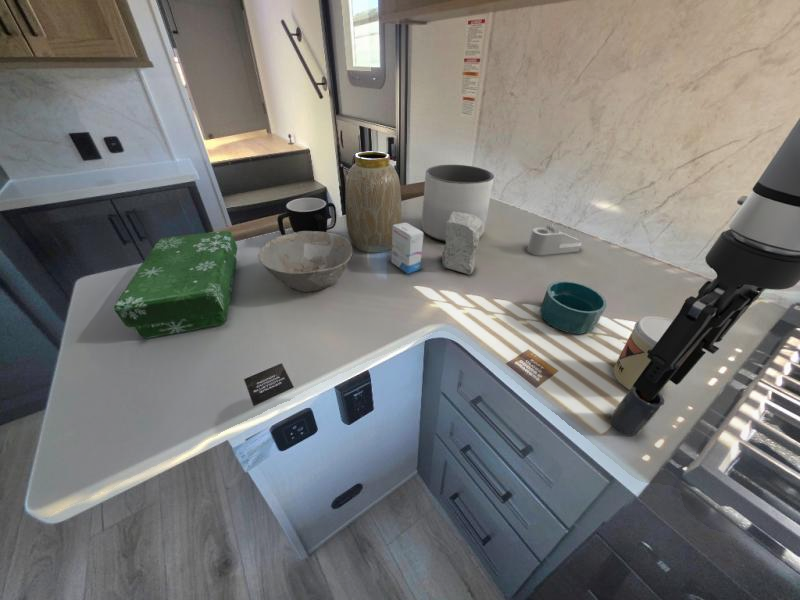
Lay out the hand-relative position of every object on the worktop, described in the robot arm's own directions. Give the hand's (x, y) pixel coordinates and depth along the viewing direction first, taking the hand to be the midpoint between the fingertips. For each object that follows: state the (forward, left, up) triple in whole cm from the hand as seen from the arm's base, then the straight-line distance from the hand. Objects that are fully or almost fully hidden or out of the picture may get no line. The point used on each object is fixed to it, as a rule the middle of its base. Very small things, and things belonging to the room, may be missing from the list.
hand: (656, 384), depth 46 cm
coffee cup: (+5, -11, -11) cm, 16 cm away
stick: (0, 0, -10) cm, 10 cm away
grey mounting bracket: (+51, -39, -11) cm, 65 cm away
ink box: (+61, +10, -11) cm, 63 cm away
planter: (+76, -16, -11) cm, 78 cm away
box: (+69, +64, -11) cm, 95 cm away
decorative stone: (+55, -4, -11) cm, 56 cm away
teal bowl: (+24, -14, -11) cm, 30 cm away
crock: (0, 0, -11) cm, 11 cm away
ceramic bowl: (+63, +37, -11) cm, 74 cm away
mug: (+89, +31, -11) cm, 95 cm away
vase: (+78, +13, -11) cm, 80 cm away
